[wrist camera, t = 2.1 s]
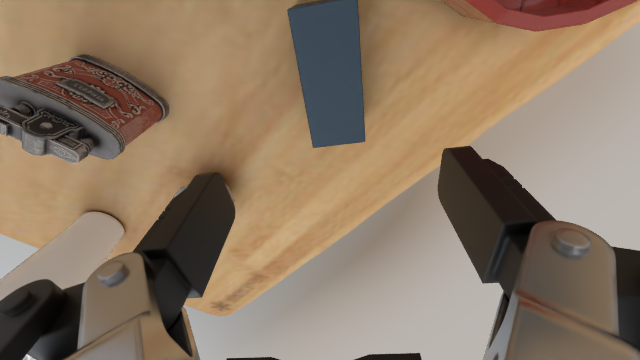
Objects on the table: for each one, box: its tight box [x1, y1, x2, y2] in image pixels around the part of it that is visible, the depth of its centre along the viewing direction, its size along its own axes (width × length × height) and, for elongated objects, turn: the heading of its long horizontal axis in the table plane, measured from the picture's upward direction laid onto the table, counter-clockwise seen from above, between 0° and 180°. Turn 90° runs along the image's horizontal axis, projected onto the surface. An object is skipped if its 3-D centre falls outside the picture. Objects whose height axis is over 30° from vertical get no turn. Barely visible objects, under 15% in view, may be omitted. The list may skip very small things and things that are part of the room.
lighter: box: [0, 55, 169, 164], centre depth 20 cm, size 8×3×10 cm, turn 55°
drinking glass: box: [0, 212, 124, 360], centre depth 29 cm, size 7×7×15 cm
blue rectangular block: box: [288, 0, 365, 148], centre depth 21 cm, size 10×4×4 cm, turn 8°
